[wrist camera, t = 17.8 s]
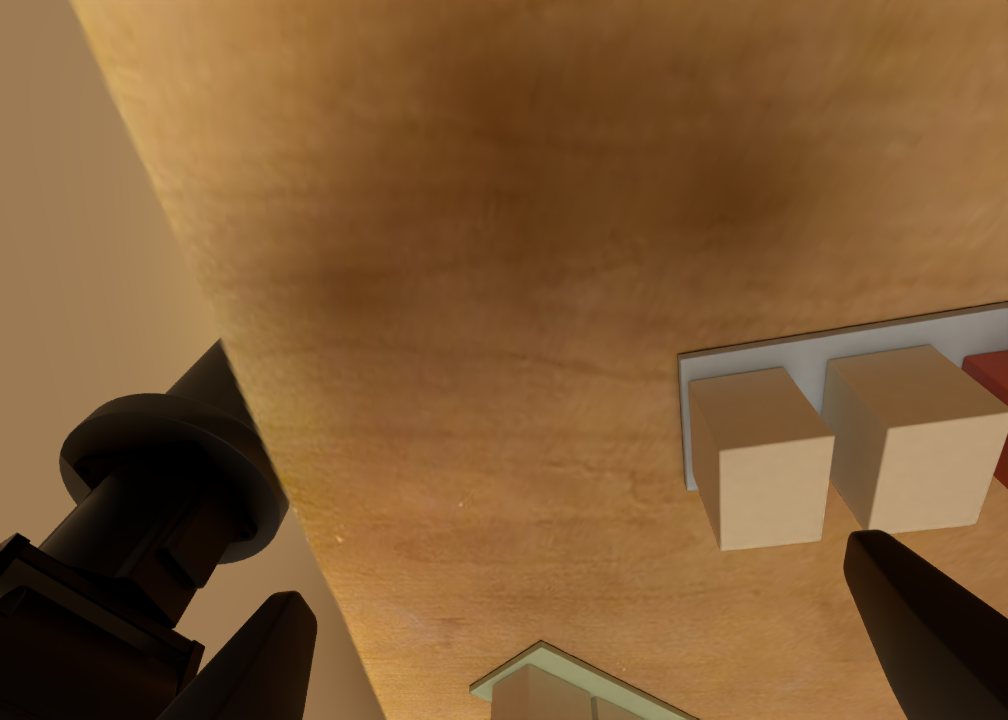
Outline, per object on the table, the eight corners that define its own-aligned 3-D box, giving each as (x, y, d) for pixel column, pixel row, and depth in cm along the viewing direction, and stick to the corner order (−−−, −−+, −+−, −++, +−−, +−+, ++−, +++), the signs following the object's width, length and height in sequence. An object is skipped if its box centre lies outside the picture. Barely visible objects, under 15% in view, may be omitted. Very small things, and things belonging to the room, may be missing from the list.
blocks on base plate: (685, 485, 24) (713, 570, 20) (677, 354, 20) (710, 428, 17) (1092, 434, 21) (1209, 520, 18) (1165, 276, 18) (1332, 342, 14)
